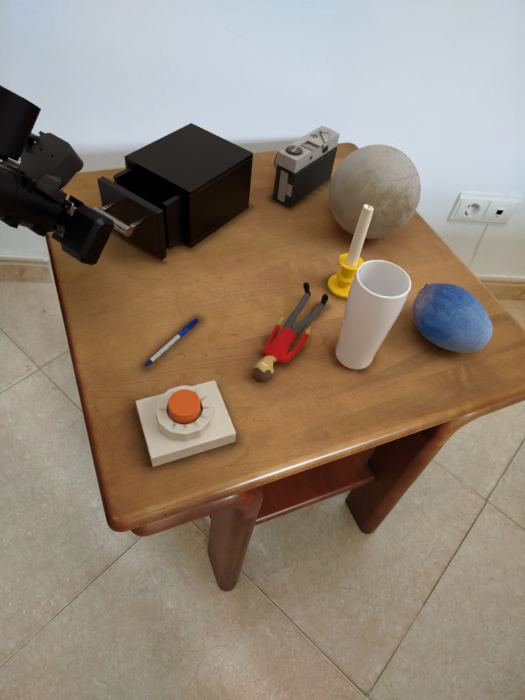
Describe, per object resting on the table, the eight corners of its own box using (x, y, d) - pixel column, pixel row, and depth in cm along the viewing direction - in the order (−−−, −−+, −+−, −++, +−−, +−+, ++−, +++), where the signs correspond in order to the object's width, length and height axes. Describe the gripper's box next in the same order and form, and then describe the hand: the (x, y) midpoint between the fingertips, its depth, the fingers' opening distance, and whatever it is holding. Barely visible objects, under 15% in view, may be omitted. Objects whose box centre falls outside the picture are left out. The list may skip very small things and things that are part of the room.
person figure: (332, 286, 71) (271, 368, 60) (334, 307, 73) (276, 389, 63) (301, 281, 73) (237, 358, 63) (304, 301, 76) (243, 379, 65)
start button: (173, 427, 55) (172, 419, 53) (165, 401, 57) (164, 393, 55) (204, 418, 56) (204, 410, 54) (195, 394, 58) (195, 385, 56)
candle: (341, 271, 80) (366, 187, 68) (366, 288, 78) (396, 205, 65) (320, 285, 77) (342, 200, 65) (345, 303, 75) (373, 220, 63)
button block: (152, 467, 55) (149, 451, 52) (137, 410, 60) (133, 392, 57) (235, 442, 58) (237, 425, 55) (214, 389, 63) (215, 371, 60)
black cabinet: (191, 248, 80) (189, 191, 71) (131, 213, 84) (124, 156, 76) (248, 207, 88) (253, 152, 80) (192, 177, 92) (191, 122, 84)
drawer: (142, 274, 74) (136, 226, 67) (86, 238, 77) (75, 189, 71) (220, 219, 84) (222, 173, 77) (167, 190, 88) (164, 144, 81)
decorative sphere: (392, 206, 93) (419, 129, 81) (413, 258, 84) (447, 180, 72) (315, 202, 91) (332, 124, 79) (328, 255, 82) (348, 175, 70)
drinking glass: (385, 368, 68) (423, 291, 56) (343, 381, 66) (373, 303, 54) (362, 333, 71) (393, 254, 60) (321, 344, 69) (345, 264, 58)
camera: (298, 163, 99) (306, 114, 91) (331, 180, 96) (343, 131, 89) (255, 190, 92) (260, 139, 84) (290, 209, 89) (298, 158, 81)
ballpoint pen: (194, 319, 70) (194, 314, 70) (199, 322, 70) (199, 317, 69) (145, 365, 64) (144, 361, 64) (150, 368, 64) (149, 364, 63)
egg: (424, 246, 69) (515, 309, 64) (418, 275, 77) (499, 334, 71) (382, 287, 68) (471, 355, 63) (380, 313, 76) (459, 375, 71)
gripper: (86, 157, 50) (167, 203, 65) (-26, 94, 56) (72, 149, 70) (42, 254, 52) (131, 277, 66) (-62, 183, 58) (41, 218, 72)
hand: (93, 227), depth 69 cm, fingers closed
